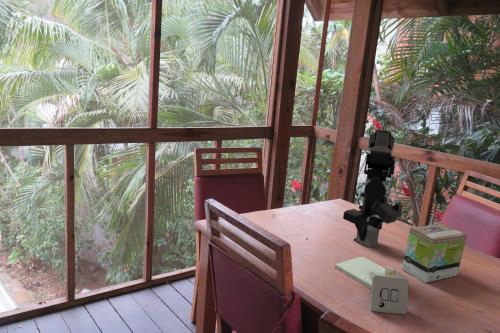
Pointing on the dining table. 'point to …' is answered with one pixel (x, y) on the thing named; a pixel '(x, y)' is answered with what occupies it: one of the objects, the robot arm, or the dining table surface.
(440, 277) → the tea box
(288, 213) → the dining table surface
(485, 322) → the dining table surface
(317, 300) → the dining table surface
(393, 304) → the electrical switch
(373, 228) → the plug
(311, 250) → the dining table surface
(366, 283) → the board
